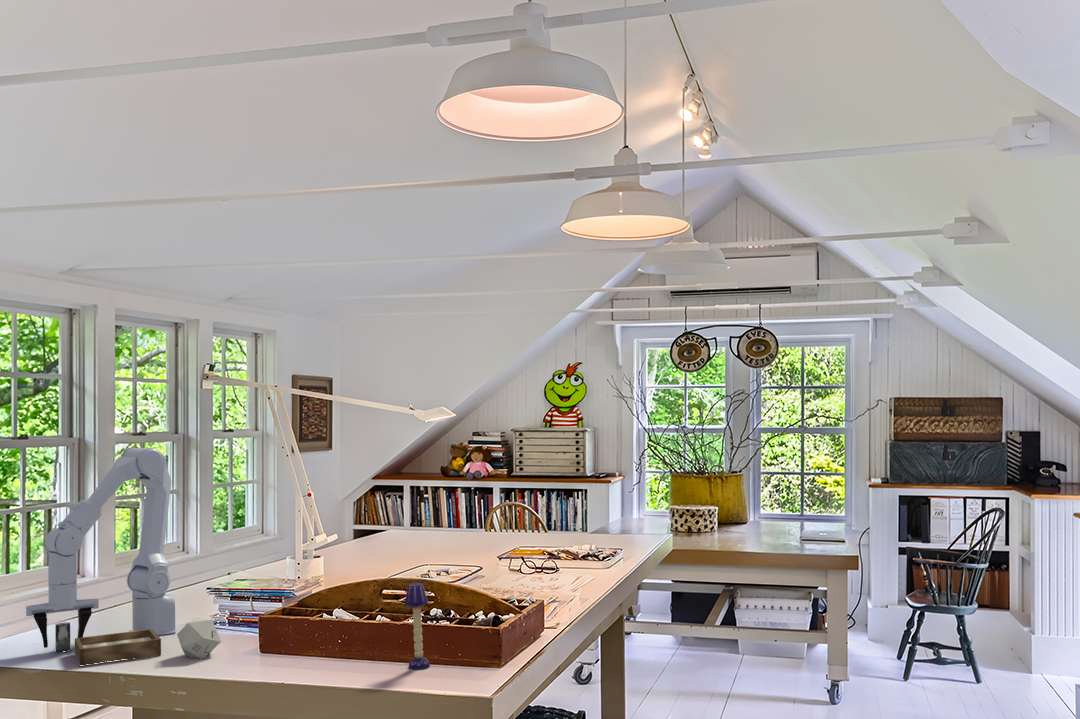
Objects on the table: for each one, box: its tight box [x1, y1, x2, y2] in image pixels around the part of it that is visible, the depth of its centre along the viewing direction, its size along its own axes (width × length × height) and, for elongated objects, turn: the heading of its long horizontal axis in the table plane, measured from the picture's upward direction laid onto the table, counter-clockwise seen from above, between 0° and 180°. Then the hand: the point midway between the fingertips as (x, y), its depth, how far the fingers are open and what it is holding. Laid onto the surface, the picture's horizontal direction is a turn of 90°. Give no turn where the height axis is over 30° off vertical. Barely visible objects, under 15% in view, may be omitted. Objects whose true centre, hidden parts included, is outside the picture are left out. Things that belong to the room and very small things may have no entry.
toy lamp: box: [404, 582, 431, 670], centre depth 206 cm, size 5×5×17 cm
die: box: [176, 617, 222, 659], centre depth 218 cm, size 8×9×10 cm
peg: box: [54, 621, 71, 653], centre depth 225 cm, size 3×3×6 cm
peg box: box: [74, 629, 162, 666], centre depth 220 cm, size 16×12×4 cm
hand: (62, 644), depth 225 cm, fingers open, 6 cm apart
